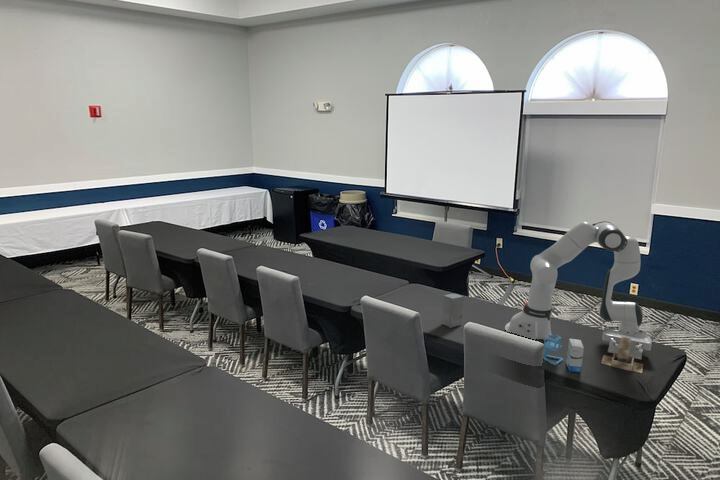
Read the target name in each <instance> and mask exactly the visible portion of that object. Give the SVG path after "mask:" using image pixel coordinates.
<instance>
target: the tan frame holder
mask: <svg viewBox="0 0 720 480" xmlns="http://www.w3.org/2000/svg"><path fill="white" fill-rule="evenodd" d="M612 354H613V355H612V356H610V355H609V356H608V355H606V354H604V355H603V356H602V359H601V362H600V364H601V365H603V366H604V365H605V366H608V367H612V368H617V369H620V370H625V371H629V372H633V373H639V374H641V375H642V374H643V369H644V363H639V362H635V358H634V356H629V358H628V363H625V362H621V361H617V359H618V353H616V352H614V353H612Z"/></svg>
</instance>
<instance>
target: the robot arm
mask: <svg viewBox="0 0 720 480" xmlns="http://www.w3.org/2000/svg"><path fill="white" fill-rule="evenodd" d="M594 243H595V244H596V243H597V244H598V245H599V246H600V247H601V248H602V249H604V250H607V251H611V252H613V255H614V258H613V259H614V262H613V265H612V267H611V269H608V270H607V272H606V274H605V275H606V276H605V281H604V284H603V292H602V295H601V296H602V298H601V302H600V305H599V309H598V315H599V317H600V318H601V319H602V320H604V322H619V323H620V324H619V327H618V329H617V330H615V329H613V330H612V329H605V330H603V331H602V336H601V340H602V341H603V342H607V343H609V344H610V343H612V345H615V344H620V340H621V336H622V337H626V338H631V345H630V347H633V348H635V350H637V351H639V350H640V349H643V351H648V352H649V351H651V350H652V345H653V344H652V338H651V337H650V333H649V332H647V331H644V330H641V329H640V326H641V325H642V324H643V318H644V317H643V308H642V306H640V305H639V303H638V302H633V301H614V300H612V295H613V290H614V286H615V285H616V284H618V283H621V282H624V281H626V280H630V279H633V278H634V277H635V276H637V275H638V274H639V272H640V271H641V263H642V262H641V261H642V260H641V249H640V245H639V241H638V240H637V239H636V238H635V237H633V236H627V235H625V234H624V232H622V231H621V230H620V228H619V227H618V226H617V225H616V224H614V223H611V221H605V220H604V221H600V222H595V223H593V224H592V223H591V222H588V221H582V222H579V223H577V224H575V226H573V227H571V229H569V230H568V231H567V232H566V233H565V234H564V235H562V236H561V237H560V238H559V239H558V240H557V241H556V242H555V243H554V244H552V245H551V246H549V247H548V248H546V249H545V250H543V251H542V252H540V253H539V254H535V255H534V256H533V257H532V259H531V261H530V271H531V274H532V279H531V282H530V283H531V284H530V287H529V291H528V301H527V302H524V304H523V306H522V311H520V312H517V313H516V314H514V315H513V316H512V317H511V319H510V321H509V322H507V323H506V324H505V326H504V331H505V330H506V331H505V332H506V333H509V332H510V333H509V334H512V333H517V335H516V336H518V334H519V335H520V336H519V337H522V336H524V337H523V338H525V337H527V338H526V339H528V338H531V339H534V340H533V341H536V339H537V340H544V339H543V338H549V335H553V334H552V329H551V320H552V314H553V308H552V304H553V298H554V297H553V296H554V292H555V291H554V290H555V287H556V284H557V280H558V274H559V273H558V272H559V271H558V269H559V268H560V267H562V266H563V265H565V264H567V263H570V262H572V260H575V258H576V257H577V256H578V255H580V254H581V253H582V252H583V251H585V249H586V248H587V247H589V246H590V245H592V244H594ZM511 332H512V333H511ZM521 335H522V336H521ZM531 339H530V340H531Z"/></svg>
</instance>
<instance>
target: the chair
mask: <svg viewBox="0 0 720 480" xmlns="http://www.w3.org/2000/svg"><path fill="white" fill-rule="evenodd" d="M553 337H554V338H553ZM542 340H543V342H544V343H543V344H544V349H543V348H542V352H543V356H544V361H545V362H547V361H548V362H547V363H549V364H551V365H552V364H553V365H552V366H554V365H555V366H554V367H556V366H558V365H559V364H561V363H562V362H563V361H564V358H563V357H559V356H554V355H550V354H549V352H550V351H552V352H554V353H555V352H556V353H557V351H558V350H560V349H562V348H563V345H562V343H561V342H562V340H563V338H562V337H561V336H560V335H558V334H552V335H549V338H543V339H542ZM547 357H548V358H547ZM552 358H553V359H554V360H557V361H555V362H554V361H552V360H551V359H552Z"/></svg>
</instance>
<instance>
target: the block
mask: <svg viewBox="0 0 720 480" xmlns="http://www.w3.org/2000/svg"><path fill="white" fill-rule="evenodd" d="M630 345H631V338H626V337H622V336H621V340H620V346H619V353H618V359H616V361H621V362H625V363H629V362H628V358H629V351H630Z"/></svg>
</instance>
